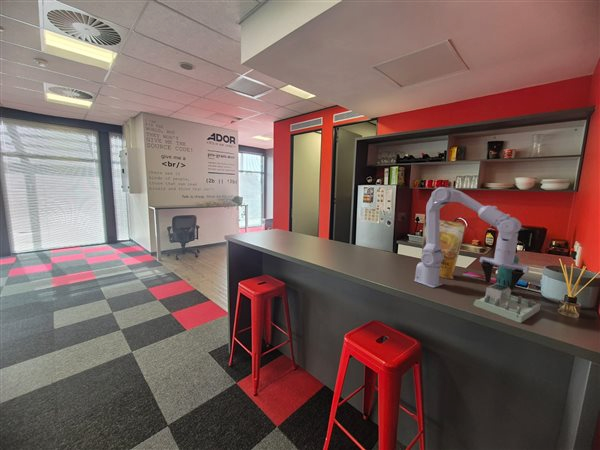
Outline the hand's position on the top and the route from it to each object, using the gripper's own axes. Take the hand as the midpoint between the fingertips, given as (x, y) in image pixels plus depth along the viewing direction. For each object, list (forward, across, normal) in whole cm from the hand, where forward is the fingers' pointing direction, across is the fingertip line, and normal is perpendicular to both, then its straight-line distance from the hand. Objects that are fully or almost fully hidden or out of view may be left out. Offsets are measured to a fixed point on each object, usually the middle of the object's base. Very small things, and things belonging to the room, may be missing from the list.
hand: (499, 285), depth 94 cm
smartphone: (+8, -17, +29) cm, 35 cm away
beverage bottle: (+8, -4, +18) cm, 20 cm away
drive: (+6, 0, 0) cm, 6 cm away
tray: (+8, +3, 0) cm, 8 cm away
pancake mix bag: (+8, -31, +13) cm, 34 cm away
